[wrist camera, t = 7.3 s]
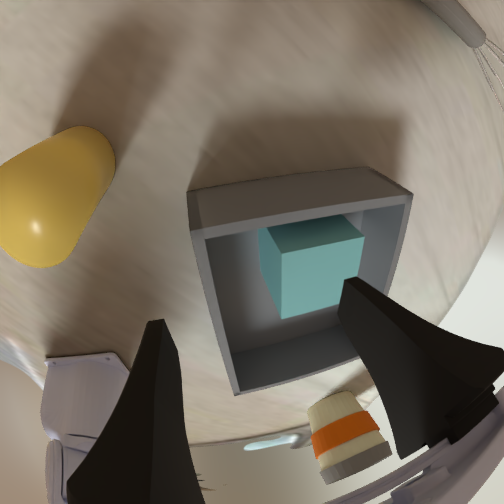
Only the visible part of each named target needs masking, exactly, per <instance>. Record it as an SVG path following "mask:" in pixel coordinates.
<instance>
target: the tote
mask: <svg viewBox="0 0 504 504" xmlns="http://www.w3.org/2000/svg"><path fill="white" fill-rule="evenodd" d="M412 200H413V193H412V192H410V191H408V190H407V189H405V188H404V187H402V186H401V185H399V184H397V183H396V182H394V181H392V180H391V179H389V178H387V177H386V176H384V175H382V174H381V173H379V172H377V171H376V170H374V169H372V168H370V167H363V168H350V169H339V170H329V171H319V172H310V173H302V174H293V175H286V176H278V177H271V178H264V179H257V180H251V181H244V182H238V183H232V184H226V185H221V186H215V187H210V188H204V189H199V190H194V191H189V192H187V205H188V217H189V228H190V234H191V239H192V243H193V247H194V252H195V256H196V260H197V264H198V269H199V273H200V277H201V281H202V285H203V289H204V293H205V296H206V300H207V304H208V308H209V312H210V315H211V319H212V323H213V326H214V330H215V333H216V337H217V340H218V344H219V347H220V351H221V354H222V358H223V361H224V364H225V368H226V371H227V374H228V377H229V380H230V384H231V387H232V390H233V393H234V396H237V395H242V394H246V393H250V392H255V391H259V390H263V389H267V388H270V387H274V386H278V385H281V384H285V383H289V382H292V381H295V380H299V379H302V378H305V377H308V376H311V375H315V374H318V373H321V372H324V371H327V370H329V369H332V368H335V367H338V366H341V365H343V364H346V363H349V362H351V361H354V360H357V359H359V358H360V356H359V355H358V353H357V351H356V350H355V348H354V346H353V345H352V343H351V341H350V340H349V338H348V336H347V335H346V333H345V331H344V328H343V326H342V324H341V322H340V319H339V317H338V315H337V311H338V307H339V304H336V305H333V306H329V307H326V308H322V309H319V310H315V311H312V312H308V313H304V314H301V315H297V316H293V317H289V318H285V319H281V317H280V315H279V313H278V310H277V308H276V306H275V303H274V301H273V299H272V297H271V294H270V292H269V290H268V287H267V285H266V283H265V280H264V278H263V276H262V273H261V271H260V257H259V241H258V229H260V228H266V227H271V226H276V225H282V224H287V223H293V222H298V221H304V220H309V219H315V218H321V217H326V216H332V215H338V214H342V215H343V216H344V217H345V218H346V219H347V220H348V221H349V222H350V223H351V224H352V225H353V226H354V227H355V228H357V229H358V230H359V231H360V232H361V233H362V234H363V235H364V236H365V238H364V244H363V249H362V255H361V260H360V265H359V270H358V274H357V277H359V278H360V279H362V280H364V281H365V282H367V283H368V284H370V285H371V286H372V287H374V288H375V289H377V290H378V291H380V292H381V293H383V294H384V295H386V296H388V293H389V290H390V287H391V283H392V280H393V277H394V274H395V270H396V267H397V263H398V260H399V256H400V252H401V248H402V245H403V241H404V237H405V232H406V228H407V224H408V219H409V215H410V210H411V205H412Z"/></svg>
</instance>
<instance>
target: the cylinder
mask: <svg viewBox="0 0 504 504" xmlns="http://www.w3.org/2000/svg"><path fill="white" fill-rule="evenodd" d="M114 173H115V155H114V152H113V149H112V147H111V144H110V143H109V141H108V140H107V139H106V137H105V136H104V135H103V134H102V133H100V132H99V131H97V130H95V129H93V128H90V127H86V126H75V127H71V128H69V129H66V130H64V131H62V132H60V133H58V134H56V135H54V136H52V137H50V138H48V139H46V140H44V141H42V142H40V143H38V144H36V145H34V146H32V147H31V148H29V149H27V150H25V151H23V152H22V153H20V154H18V155H17V156H15V157H13V158H12V159H10V160H8V161H7V162H5V163H4V164H3V165H1V166H0V245H1V247H2V248H3V249H4V250H5V251H6V252H7V253H8V254H9V255H10V256H11V257H13V258H14V259H16V260H17V261H19V262H21V263H23V264H25V265H28V266H31V267H37V268H47V267H52V266H55V265H57V264H59V263H61V262H62V261H64V260H65V259H66V258H67V257H68V256H69V255H70V254H71V252H72V251H73V249H74V247H75V245H76V243H77V241H78V240H79V238H80V236H81V234H82V232H83V230H84V228H85V226H86V224H87V223H88V221H89V219H90V217H91V216H92V214H93V212H94V210H95V209H96V207H97V205H98V203H99V202H100V200H101V198H102V197H103V195H104V194H105V192H106V190H107V189H108V187H109V186H110V184H111V182H112V180H113V177H114Z"/></svg>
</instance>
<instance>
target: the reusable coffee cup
mask: <svg viewBox="0 0 504 504" xmlns="http://www.w3.org/2000/svg"><path fill="white" fill-rule="evenodd" d="M307 414H308V418H309V422H310V426H311V430H312V434H313V435H312V436H311V440H312V444H313V448H314V453H315V457H316V459H319V463H320V467H321V472H320V474H321V476H322V477H323V479H324V481H325V483H326V484H327V485H328V484H331V483H333V482H336V481H339V480H341V479H344V478H346V477H349V476H351V475H353V474H356V473H358V472H360V471H362V470H364V469H366V468H368V467H370V466H372V465H374V464H376V463H378V462H380V461H382V460H384V459H386V458H387V457H389V456H391V455H392V451H391V449H390V446H389V443H388V441H385V440H384V438H383V437H382V435H381V434H380V433H379V430H380V428H379V427H378V425H377V424H376V423H375V421H374V420H373V419H372V417H371V416H370V414H369V413H368V411H364V410H363V408H362V407H361V405H360V404H359V403H358V401H357V400H356V398H355V397H354V395H353V394H352V393H351V392H350V391H344V392H339V393H336V394H333V395H331V396H328V397H326V398H324V399H322V400H320V401H319V402H317V403H315V404H314V405H313V406H311V407H310V408H309V410H308V411H307Z"/></svg>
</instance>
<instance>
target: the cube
mask: <svg viewBox="0 0 504 504" xmlns="http://www.w3.org/2000/svg"><path fill="white" fill-rule="evenodd" d="M364 238H365V236H364V235H363V234H362V233H361V232H360V231H359V230H358V229H357V228H355V227H354V226H353V225H352V224H351V223H350V222H349V221H348V220H347V219H346V218H345V217H344V216H343V215H342V214H338V215H332V216H326V217H321V218H315V219H309V220H304V221H298V222H293V223H287V224H282V225H276V226H271V227H266V228H260V229H258V241H259V257H260V271H261V273H262V276H263V278H264V280H265V283H266V285H267V287H268V290H269V292H270V294H271V297H272V299H273V301H274V303H275V306H276V308H277V310H278V313H279V315H280V317H281V319H285V318H289V317H293V316H297V315H301V314H304V313H308V312H312V311H315V310H319V309H322V308H326V307H329V306H333V305H336V304H339V302H340V298H341V293H342V288H343V283H344V279H348V278H351V277H355V276H357V274H358V270H359V265H360V260H361V255H362V249H363V244H364Z"/></svg>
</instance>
